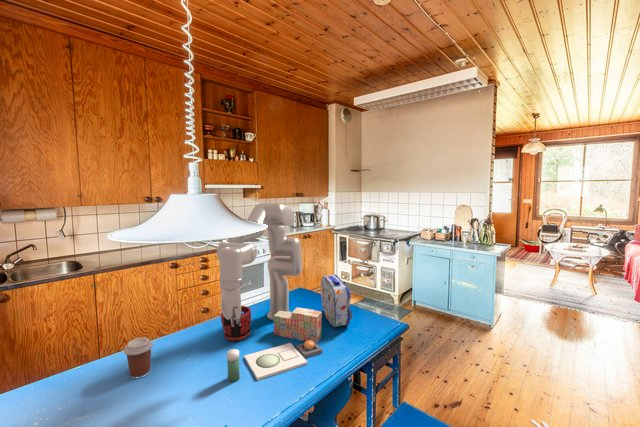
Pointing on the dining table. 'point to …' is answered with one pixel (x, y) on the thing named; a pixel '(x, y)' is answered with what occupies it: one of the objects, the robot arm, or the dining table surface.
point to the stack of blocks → (299, 324)
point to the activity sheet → (274, 361)
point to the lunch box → (335, 300)
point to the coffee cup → (138, 356)
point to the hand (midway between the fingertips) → (232, 330)
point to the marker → (233, 365)
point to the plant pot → (245, 325)
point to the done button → (309, 345)
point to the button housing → (309, 353)
